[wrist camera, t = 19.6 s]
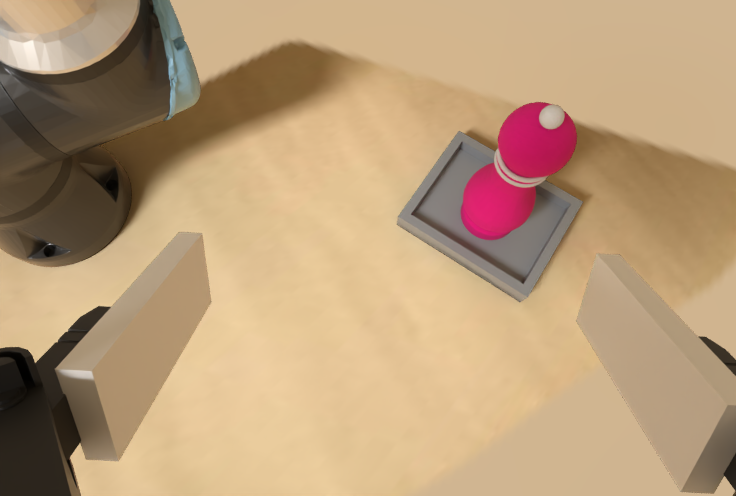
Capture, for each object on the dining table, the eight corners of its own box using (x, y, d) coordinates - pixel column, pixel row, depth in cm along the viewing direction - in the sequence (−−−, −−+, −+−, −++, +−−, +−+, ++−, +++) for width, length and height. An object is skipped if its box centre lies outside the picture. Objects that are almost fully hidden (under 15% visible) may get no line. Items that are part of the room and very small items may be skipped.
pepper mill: (472, 175, 54) (530, 54, 35) (530, 203, 53) (621, 94, 34) (444, 225, 52) (490, 125, 33) (503, 256, 51) (584, 171, 32)
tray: (396, 224, 53) (398, 216, 51) (455, 142, 57) (458, 130, 54) (520, 302, 51) (527, 297, 48) (573, 210, 54) (583, 201, 52)
